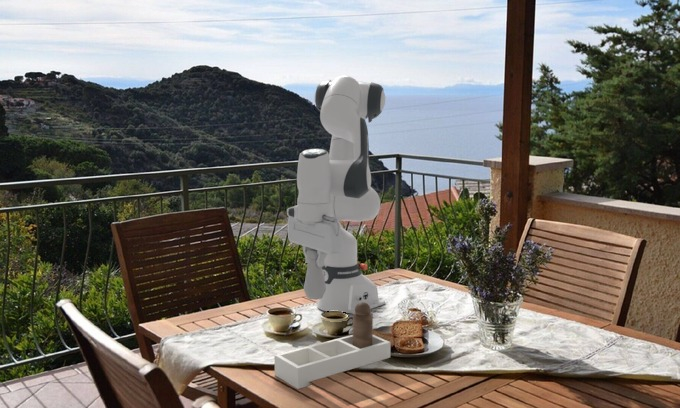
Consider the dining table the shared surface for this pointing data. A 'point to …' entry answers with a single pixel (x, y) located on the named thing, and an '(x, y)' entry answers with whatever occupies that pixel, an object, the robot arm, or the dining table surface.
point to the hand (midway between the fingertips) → (314, 264)
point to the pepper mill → (362, 326)
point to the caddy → (327, 359)
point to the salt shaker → (314, 277)
